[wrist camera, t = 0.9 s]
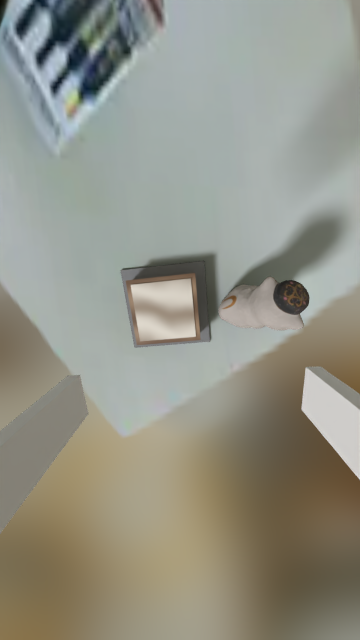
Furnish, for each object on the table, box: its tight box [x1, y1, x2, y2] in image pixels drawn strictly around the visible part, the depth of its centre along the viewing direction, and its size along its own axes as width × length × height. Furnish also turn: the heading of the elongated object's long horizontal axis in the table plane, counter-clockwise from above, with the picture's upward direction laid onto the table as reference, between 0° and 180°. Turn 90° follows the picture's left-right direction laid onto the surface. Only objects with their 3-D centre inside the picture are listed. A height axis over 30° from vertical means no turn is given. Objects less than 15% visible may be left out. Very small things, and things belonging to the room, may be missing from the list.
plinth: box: [126, 273, 201, 345], centre depth 34 cm, size 12×12×4 cm
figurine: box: [219, 277, 309, 330], centre depth 28 cm, size 9×10×15 cm
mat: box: [121, 261, 210, 347], centre depth 36 cm, size 16×16×1 cm
